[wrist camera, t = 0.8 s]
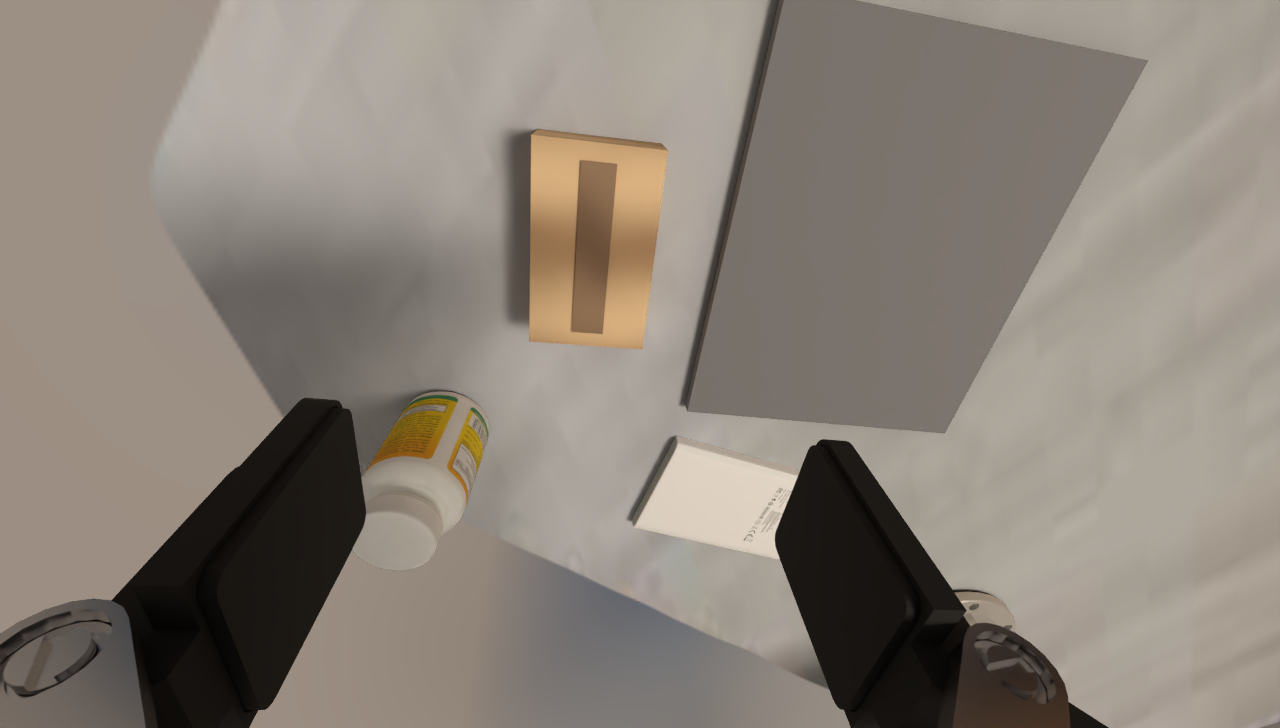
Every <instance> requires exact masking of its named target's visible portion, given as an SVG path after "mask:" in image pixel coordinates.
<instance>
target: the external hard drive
mask: <svg viewBox="0 0 1280 728" xmlns="http://www.w3.org/2000/svg"><path fill="white" fill-rule="evenodd" d="M799 472H800V470H797V469H793V468H790V467H786V466H783V465H779V464H776V463H772V462H769V461H765V460H762V459H758V458H754V457H751V456H747V455H744V454H740V453H737V452H733V451H730V450H726V449H723V448H719V447H716V446H712V445H708V444H705V443H701V442H698V441H694V440H691V439H687V438H683V437H680V436H675V438H674V440H673V442H672V444H671V446H670V448H669V450H668V452H667V454H666V455H665V457H664V459H663V461H662V463H661V465H660V467H659V469H658V471H657V473H656V474H655V476H654V478H653V480H652V482H651V484H650V486H649V488H648V490H647V492H646V493H645V495H644V497H643V499H642V501H641V503H640V505H639V507H638V509H637V510H636V512H635V514H634V516H633V518H632V521H633V527H634V528H639V529H644V530H648V531H652V532H657V533H661V534H666V535H671V536H675V537H680V538H684V539H689V540H693V541H698V542H702V543H706V544H711V545H716V546H720V547H725V548H729V549H734V550H738V551H743V552H747V553H752V554H756V555H761V556H766V557H769V558H774V559H780V558H779V555H778V553H777V550H776V546H775V533H776V529H777V527H778V525H779V522H780V520H781V517H782V515H783V512H784V510H785V507H786V505H787V502H788V500H789V497H790V495H791V492H792V490H793V487H794V485H795V482H796V480H797V477H798V475H799Z"/></svg>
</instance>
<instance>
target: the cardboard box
mask: <svg viewBox="0 0 1280 728" xmlns="http://www.w3.org/2000/svg"><path fill="white" fill-rule="evenodd" d="M667 156H668V150H667V149H666V148H665V147H664V146H663V145H662V144H661V143H652V142H644V141H635V140H627V139H618V138H610V137H601V136H593V135H584V134H576V133H567V132H559V131H550V130H542V129H538V130H536V131H535V132H534V133H533V134H531V208H530V326H529V341H532V342H546V343H561V344H575V345H589V346H604V347H618V348H632V349H642V347H643V339H644V332H645V324H646V316H647V309H648V301H649V293H650V286H651V278H652V270H653V263H654V255H655V247H656V240H657V232H658V224H659V217H660V209H661V201H662V194H663V186H664V178H665V171H666V163H667Z"/></svg>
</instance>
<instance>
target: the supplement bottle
mask: <svg viewBox="0 0 1280 728" xmlns="http://www.w3.org/2000/svg"><path fill="white" fill-rule="evenodd" d="M488 436H489V424H488V421H487V418H486V416H485V414H484V412H483V411H482V409H481V408H480V407H479V406H478V405H477V404H476V403H475V402H473V401H472V400H470V399H469V398H467V397H465V396H463V395H460V394H457V393H453V392H441V391H438V392H429V393H425V394H422V395H420V396H418V397H416V398H415V399H413V400H412V401H411V402H410V403H409V404H408V405H407V406H406V408H405V409H404V411H403V412H402V414H401V415H400V417H399V419H398V420H397V422H396V423H395V425H394V427H393V428H392V430H391V432H390V433H389V435H388V436H387V438H386V440H385V441H384V443H383V445H382V446H381V448H380V450H379V451H378V453H377V455H376V456H375V458H374V459H373V461H372V463H371V464H370V466H369V468H368V469H367V471H366V472H365V474H364V476H363V477H362V486H363V493H364V499H365V506H366V519H365V523H364V527H363V529H362V531H361V533H360V535H359V537H358V539H357V541H356V543H355V545H354V547H353V549H352V550H353V552H354V553H355V554H356V555H357V556H358V557H359V558H361V559H362V560H363V561H365V562H366V563H368V564H370V565H373V566H375V567H378V568H381V569H386V570H395V571H396V570H410V569H413V568H417V567H419V566H421V565H423V564H425V563H426V562H428V561H429V560H430V559H431V558H432V556H433V555H434V553H435V551H436V548H437V546H438V543H439V541H440V539H441V537H442V534H444V533H446V532H447V531H449V530H450V529H451V528H452V527H454V526H455V524H457V522H458V521H459V520H460V518H461V517H462V515H463V513H464V510H465V507H466V504H467V502H468V498H469V495H470V492H471V489H472V486H473V483H474V480H475V477H476V474H477V471H478V468H479V465H480V462H481V459H482V456H483V453H484V450H485V447H486V443H487V440H488Z"/></svg>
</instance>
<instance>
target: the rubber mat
mask: <svg viewBox="0 0 1280 728" xmlns="http://www.w3.org/2000/svg"><path fill="white" fill-rule="evenodd" d="M1147 62H1148V60H1143V59H1138V58H1133V57H1128V56H1123V55H1119V54H1114V53H1109V52H1104V51H1099V50H1094V49H1089V48H1085V47H1080V46H1075V45H1070V44H1065V43H1060V42H1055V41H1051V40H1046V39H1041V38H1036V37H1031V36H1026V35H1021V34H1017V33H1012V32H1007V31H1002V30H997V29H992V28H987V27H982V26H978V25H973V24H968V23H963V22H958V21H953V20H948V19H944V18H939V17H934V16H929V15H924V14H919V13H914V12H910V11H905V10H900V9H895V8H890V7H885V6H880V5H876V4H871V3H866V2H861V1H856V0H779V1H778V6H777V10H776V14H775V19H774V23H773V27H772V32H771V36H770V40H769V45H768V49H767V53H766V58H765V62H764V66H763V71H762V75H761V79H760V84H759V88H758V92H757V97H756V101H755V105H754V110H753V114H752V118H751V123H750V127H749V131H748V136H747V140H746V144H745V149H744V153H743V157H742V162H741V166H740V170H739V175H738V179H737V183H736V188H735V192H734V196H733V201H732V205H731V209H730V214H729V218H728V222H727V227H726V231H725V235H724V240H723V244H722V248H721V253H720V257H719V261H718V266H717V270H716V274H715V279H714V283H713V287H712V292H711V296H710V300H709V305H708V309H707V313H706V318H705V322H704V326H703V331H702V335H701V339H700V344H699V348H698V352H697V357H696V361H695V365H694V370H693V374H692V378H691V383H690V387H689V391H688V396H687V400H686V408H687V411H689V412H701V413H712V414H724V415H736V416H747V417H759V418H771V419H783V420H794V421H806V422H818V423H830V424H841V425H853V426H865V427H876V428H888V429H900V430H912V431H923V432H935V433H945V432H946V430H947V428H948V426H949V425H950V423H951V421H952V419H953V417H954V415H955V414H956V412H957V410H958V408H959V406H960V404H961V403H962V401H963V399H964V397H965V395H966V393H967V392H968V390H969V388H970V386H971V384H972V382H973V381H974V379H975V377H976V375H977V373H978V371H979V370H980V368H981V366H982V364H983V362H984V360H985V359H986V357H987V355H988V353H989V351H990V349H991V348H992V346H993V344H994V342H995V340H996V338H997V337H998V335H999V333H1000V331H1001V329H1002V327H1003V326H1004V324H1005V322H1006V320H1007V318H1008V316H1009V315H1010V313H1011V311H1012V309H1013V307H1014V305H1015V304H1016V302H1017V300H1018V298H1019V296H1020V294H1021V293H1022V291H1023V289H1024V287H1025V285H1026V283H1027V282H1028V280H1029V278H1030V276H1031V274H1032V273H1033V271H1034V269H1035V267H1036V265H1037V263H1038V262H1039V260H1040V258H1041V256H1042V254H1043V252H1044V251H1045V249H1046V247H1047V245H1048V243H1049V241H1050V240H1051V238H1052V236H1053V234H1054V232H1055V230H1056V229H1057V227H1058V225H1059V223H1060V221H1061V219H1062V218H1063V216H1064V214H1065V212H1066V210H1067V208H1068V207H1069V205H1070V203H1071V201H1072V199H1073V197H1074V196H1075V194H1076V192H1077V190H1078V188H1079V186H1080V185H1081V183H1082V181H1083V179H1084V177H1085V175H1086V174H1087V172H1088V170H1089V168H1090V166H1091V164H1092V163H1093V161H1094V159H1095V157H1096V155H1097V153H1098V152H1099V150H1100V148H1101V146H1102V144H1103V142H1104V141H1105V139H1106V137H1107V135H1108V133H1109V131H1110V130H1111V128H1112V126H1113V124H1114V122H1115V120H1116V119H1117V117H1118V115H1119V113H1120V111H1121V109H1122V108H1123V106H1124V104H1125V102H1126V100H1127V98H1128V97H1129V95H1130V93H1131V91H1132V89H1133V87H1134V86H1135V84H1136V82H1137V80H1138V78H1139V77H1140V75H1141V73H1142V71H1143V69H1144V67H1145V66H1146V64H1147Z"/></svg>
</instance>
